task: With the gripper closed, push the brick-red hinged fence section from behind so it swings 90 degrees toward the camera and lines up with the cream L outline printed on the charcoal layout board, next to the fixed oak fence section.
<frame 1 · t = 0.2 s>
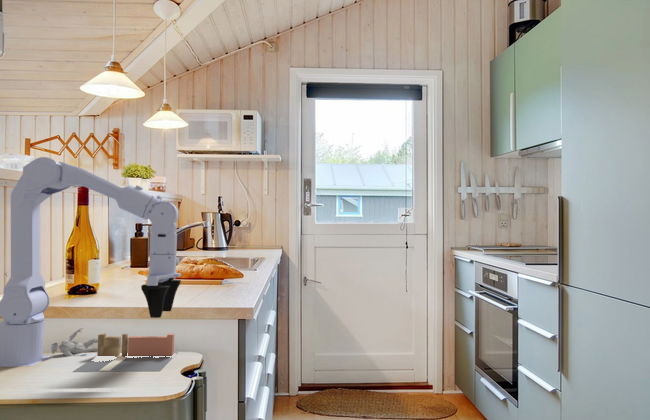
hand: (161, 314, 100), 10 cm above the countertop, tool pointing down, fingers open, 7 cm apart
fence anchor: (110, 356, 99), resting on layout board
soldier figure: (81, 355, 102), on the countertop
fence panel: (151, 344, 99), point 3 cm above the countertop, hinge at 0.0°
layout board: (129, 364, 95), on the countertop
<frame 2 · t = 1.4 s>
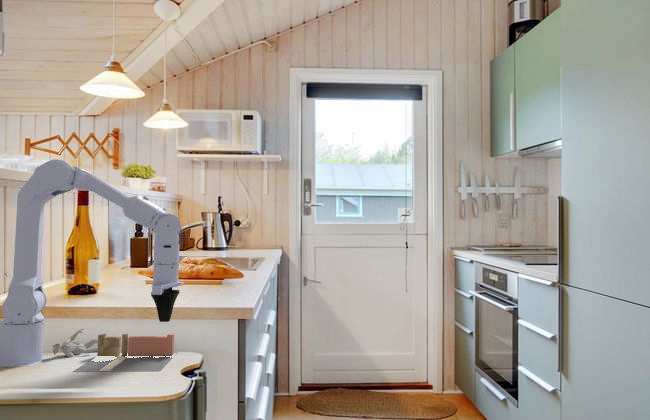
hand: (164, 321, 105), 7 cm above the countertop, tool pointing down, fingers closed
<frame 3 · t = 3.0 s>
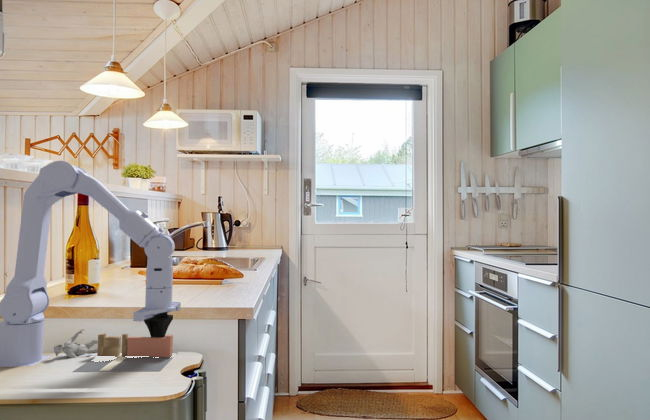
hand: (157, 347, 100), 2 cm above the countertop, tool pointing down, fingers closed
fence panel: (150, 345, 99), point 3 cm above the countertop, hinge at 6.8°, touching gripper
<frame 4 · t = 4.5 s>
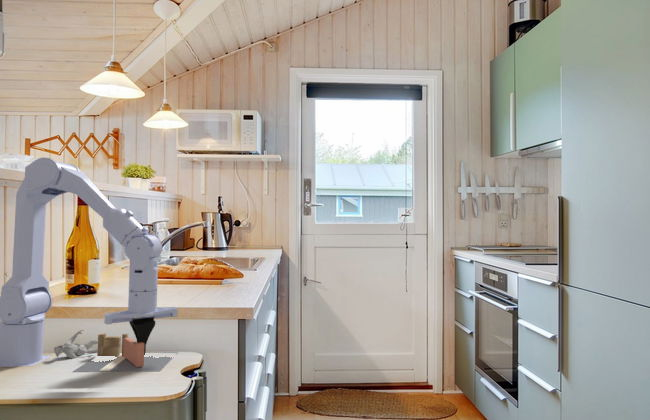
hand: (141, 354, 95), 2 cm above the countertop, tool pointing down, fingers closed
fence panel: (133, 350, 95), point 3 cm above the countertop, hinge at 53.7°, touching gripper
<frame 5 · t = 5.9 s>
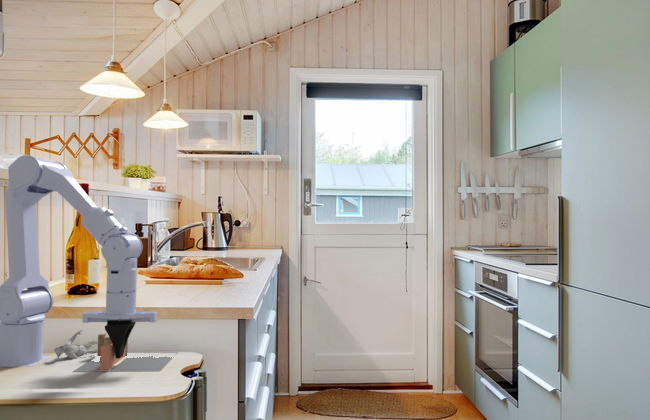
hand: (119, 357, 92), 2 cm above the countertop, tool pointing down, fingers closed
fence panel: (114, 351, 93), point 3 cm above the countertop, hinge at 90.9°, touching gripper
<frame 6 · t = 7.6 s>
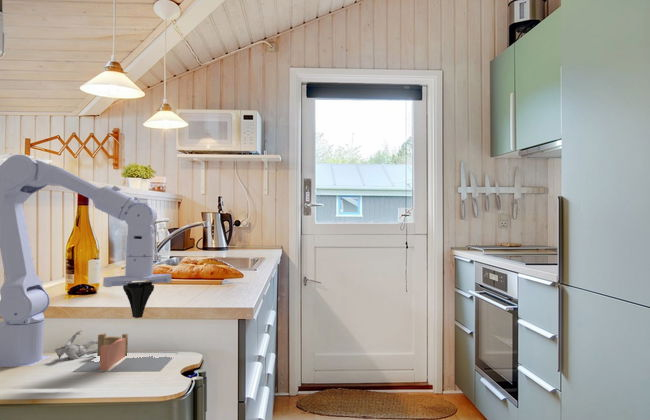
hand: (137, 317, 99), 9 cm above the countertop, tool pointing down, fingers closed
fence panel: (114, 351, 93), point 3 cm above the countertop, hinge at 91.0°
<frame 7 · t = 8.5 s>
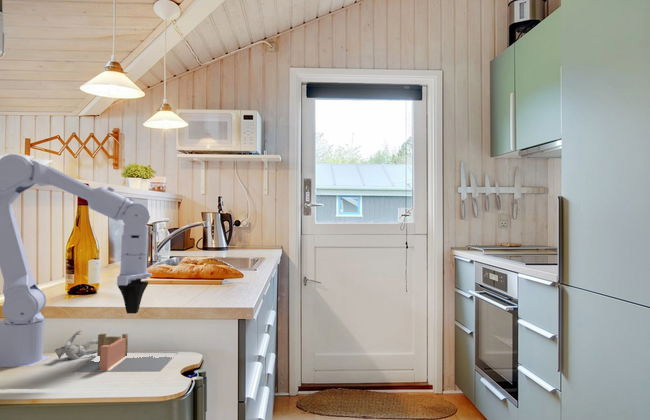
hand: (132, 313, 103), 9 cm above the countertop, tool pointing down, fingers closed
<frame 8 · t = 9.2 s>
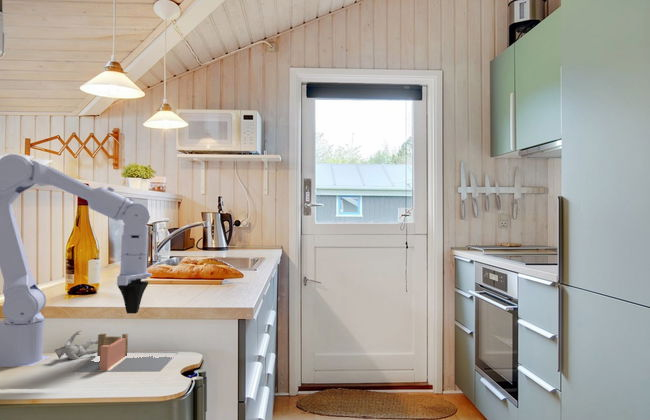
hand: (132, 313, 103), 9 cm above the countertop, tool pointing down, fingers closed
soldier figure: (82, 358, 100), on the countertop, touching layout board
everything else where it was.
at the end: fence panel at +91° (first picture: +0°); soldier figure moved 2.9 cm from its start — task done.
